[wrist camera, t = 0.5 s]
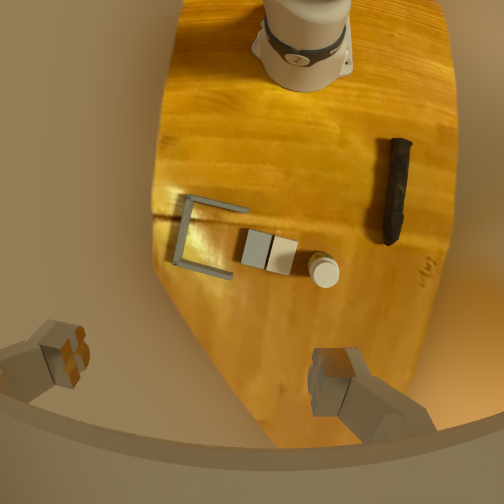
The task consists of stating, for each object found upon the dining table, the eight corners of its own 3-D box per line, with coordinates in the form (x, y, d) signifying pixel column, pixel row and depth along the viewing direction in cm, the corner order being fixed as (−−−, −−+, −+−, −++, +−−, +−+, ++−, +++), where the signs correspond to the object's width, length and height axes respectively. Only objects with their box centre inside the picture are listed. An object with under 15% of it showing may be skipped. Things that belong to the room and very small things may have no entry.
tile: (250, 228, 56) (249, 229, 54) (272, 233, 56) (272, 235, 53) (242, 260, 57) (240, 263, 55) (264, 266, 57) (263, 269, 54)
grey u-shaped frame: (191, 194, 55) (187, 194, 53) (249, 208, 55) (247, 208, 52) (177, 261, 58) (172, 264, 55) (232, 277, 57) (230, 280, 55)
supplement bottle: (335, 253, 55) (344, 262, 46) (331, 279, 55) (338, 292, 47) (309, 249, 55) (313, 257, 47) (305, 275, 56) (308, 288, 48)
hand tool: (388, 138, 50) (396, 134, 46) (407, 144, 50) (417, 140, 46) (370, 241, 54) (377, 244, 49) (390, 245, 54) (399, 249, 49)
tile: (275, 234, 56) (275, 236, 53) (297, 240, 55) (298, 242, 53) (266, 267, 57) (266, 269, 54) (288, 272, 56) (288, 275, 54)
